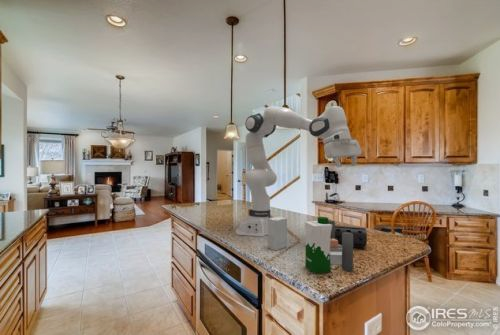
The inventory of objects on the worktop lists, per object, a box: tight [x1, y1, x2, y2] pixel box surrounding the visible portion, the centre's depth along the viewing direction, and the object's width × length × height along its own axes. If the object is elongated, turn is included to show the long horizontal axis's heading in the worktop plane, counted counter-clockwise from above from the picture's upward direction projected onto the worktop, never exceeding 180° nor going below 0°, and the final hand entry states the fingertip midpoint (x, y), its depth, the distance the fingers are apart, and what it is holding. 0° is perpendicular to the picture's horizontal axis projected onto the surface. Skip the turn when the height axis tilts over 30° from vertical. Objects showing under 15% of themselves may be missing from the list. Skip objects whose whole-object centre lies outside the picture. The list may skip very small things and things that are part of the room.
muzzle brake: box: [335, 225, 368, 248], centre depth 123 cm, size 10×28×10 cm, turn 73°
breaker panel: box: [330, 244, 342, 266], centre depth 104 cm, size 11×14×6 cm
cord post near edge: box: [341, 232, 354, 273], centre depth 92 cm, size 4×4×14 cm
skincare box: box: [267, 215, 288, 251], centre depth 117 cm, size 8×6×15 cm
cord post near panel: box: [328, 220, 336, 239], centre depth 114 cm, size 4×4×14 cm
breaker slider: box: [330, 239, 339, 249], centre depth 103 cm, size 3×3×4 cm
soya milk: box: [304, 216, 332, 274], centre depth 92 cm, size 9×9×20 cm
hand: (346, 166), depth 111 cm, fingers open, 8 cm apart
